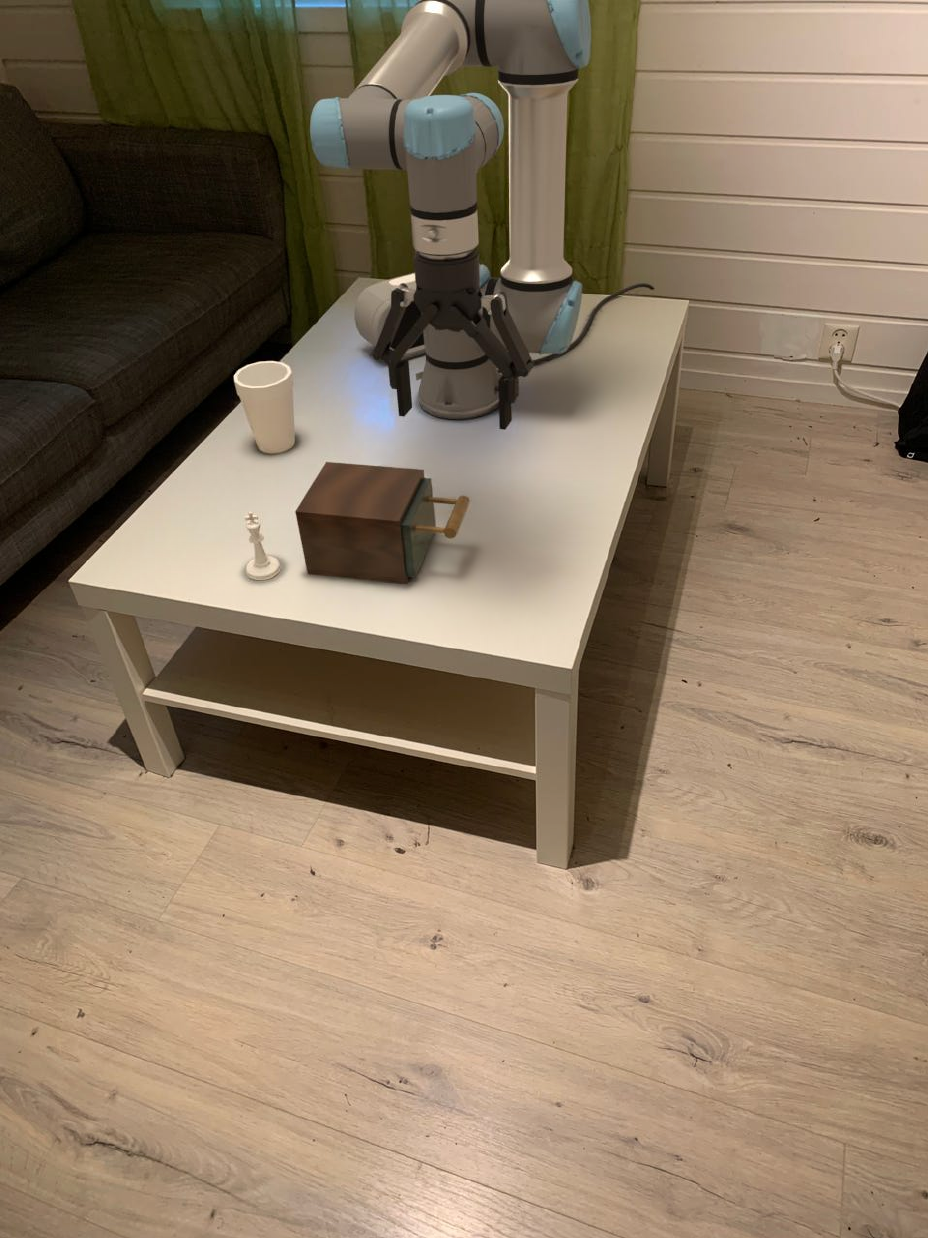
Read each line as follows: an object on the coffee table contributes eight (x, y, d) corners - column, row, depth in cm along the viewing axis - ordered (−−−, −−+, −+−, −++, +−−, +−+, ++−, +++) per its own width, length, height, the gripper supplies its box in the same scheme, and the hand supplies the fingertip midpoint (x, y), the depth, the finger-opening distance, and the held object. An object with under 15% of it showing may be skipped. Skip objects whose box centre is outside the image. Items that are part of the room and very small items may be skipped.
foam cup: (293, 460, 168) (279, 389, 159) (241, 456, 169) (224, 386, 161) (310, 431, 175) (298, 361, 166) (260, 428, 176) (246, 359, 168)
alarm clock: (380, 369, 191) (372, 301, 182) (358, 351, 197) (350, 284, 188) (473, 340, 198) (470, 274, 189) (449, 324, 204) (445, 258, 196)
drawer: (474, 532, 147) (471, 481, 142) (456, 581, 139) (452, 529, 133) (349, 521, 152) (341, 470, 146) (323, 567, 143) (314, 516, 137)
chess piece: (248, 561, 147) (234, 504, 140) (281, 557, 147) (269, 500, 140) (245, 581, 143) (230, 524, 137) (279, 578, 143) (266, 521, 137)
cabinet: (429, 531, 150) (424, 469, 143) (406, 584, 141) (399, 521, 134) (336, 522, 153) (326, 461, 146) (307, 573, 144) (295, 511, 137)
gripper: (333, 251, 116) (353, 419, 129) (541, 268, 108) (540, 444, 121) (360, 231, 121) (377, 394, 134) (560, 246, 114) (557, 416, 127)
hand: (454, 418), depth 128 cm, fingers open, 13 cm apart
